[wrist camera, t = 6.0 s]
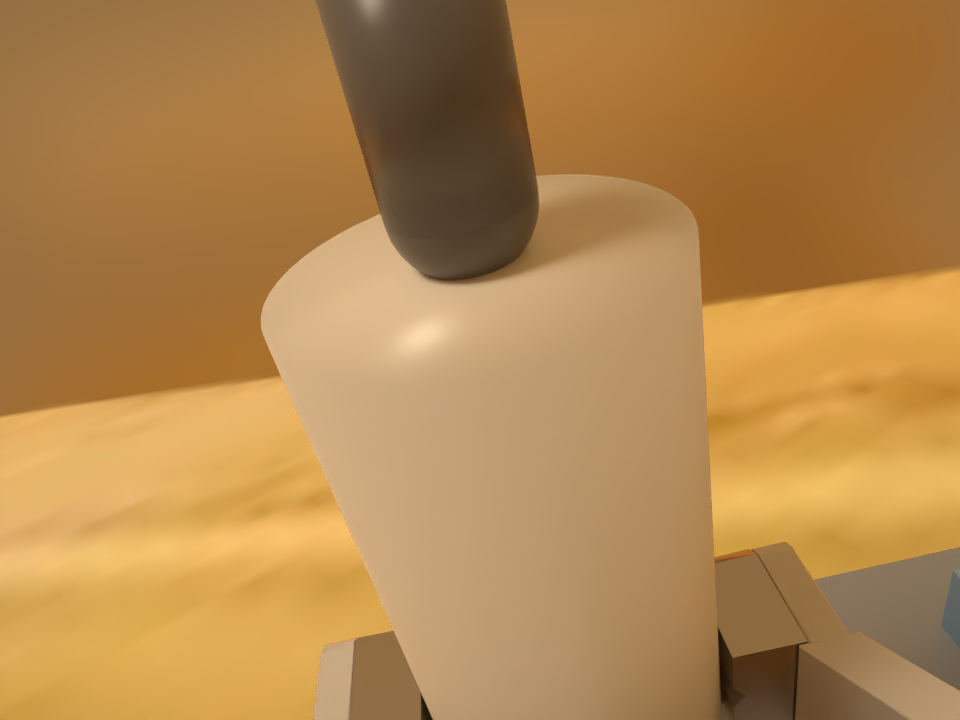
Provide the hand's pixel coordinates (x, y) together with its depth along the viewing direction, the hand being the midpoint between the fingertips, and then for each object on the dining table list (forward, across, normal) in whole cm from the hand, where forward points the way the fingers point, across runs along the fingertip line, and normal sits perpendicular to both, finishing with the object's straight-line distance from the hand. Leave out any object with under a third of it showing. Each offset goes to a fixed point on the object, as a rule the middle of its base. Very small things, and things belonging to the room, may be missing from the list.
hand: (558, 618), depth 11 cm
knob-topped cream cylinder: (-1, 0, +8) cm, 8 cm away
